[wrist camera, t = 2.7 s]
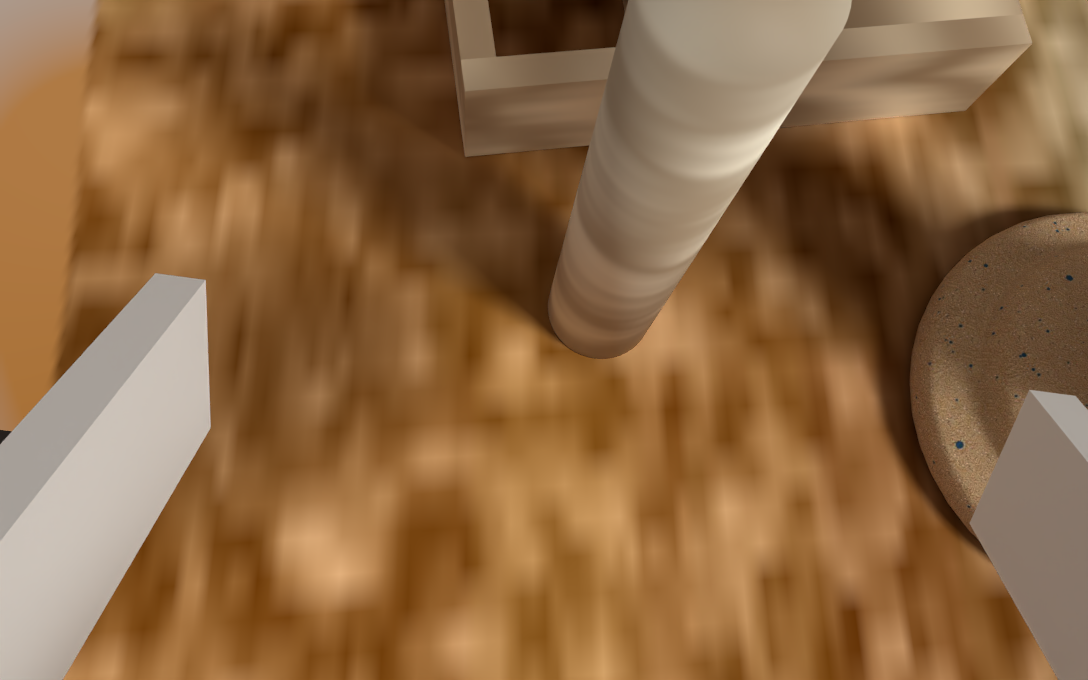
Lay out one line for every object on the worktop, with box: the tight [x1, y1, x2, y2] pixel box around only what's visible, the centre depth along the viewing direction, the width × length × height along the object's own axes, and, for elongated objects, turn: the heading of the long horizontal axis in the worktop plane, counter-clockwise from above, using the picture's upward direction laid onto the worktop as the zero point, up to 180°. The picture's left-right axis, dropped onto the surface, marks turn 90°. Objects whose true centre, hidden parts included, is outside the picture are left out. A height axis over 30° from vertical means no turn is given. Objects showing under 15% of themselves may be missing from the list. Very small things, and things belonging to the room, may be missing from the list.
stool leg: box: [548, 0, 852, 359], centre depth 22 cm, size 3×3×16 cm
